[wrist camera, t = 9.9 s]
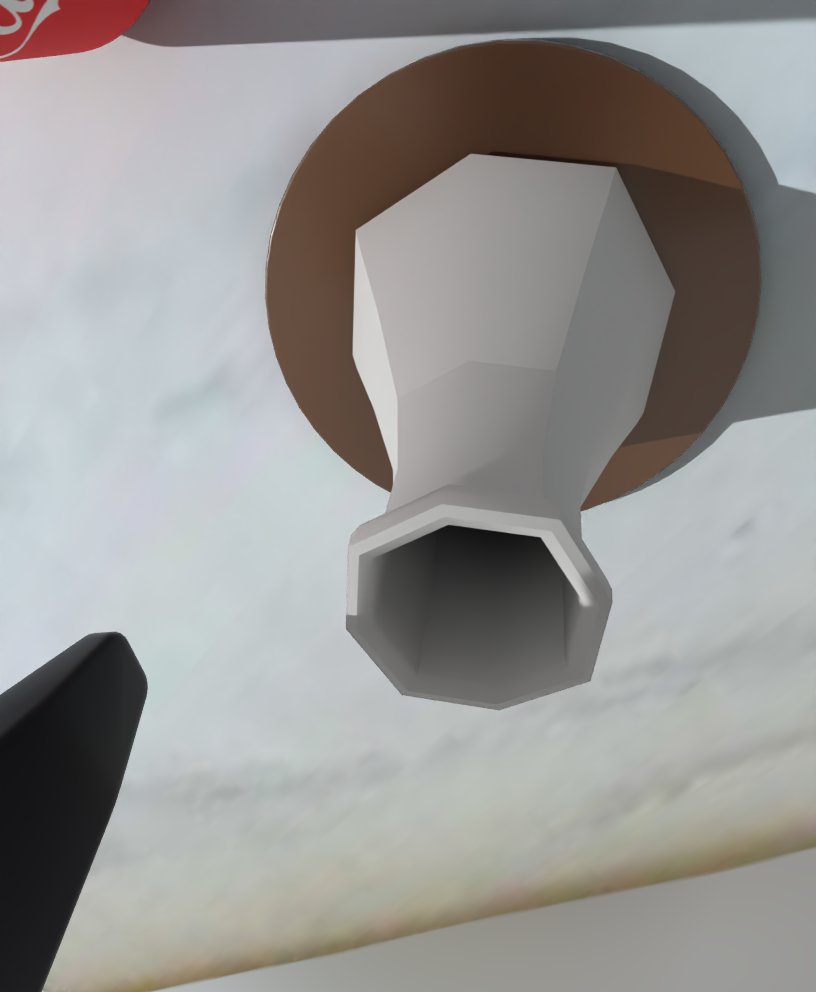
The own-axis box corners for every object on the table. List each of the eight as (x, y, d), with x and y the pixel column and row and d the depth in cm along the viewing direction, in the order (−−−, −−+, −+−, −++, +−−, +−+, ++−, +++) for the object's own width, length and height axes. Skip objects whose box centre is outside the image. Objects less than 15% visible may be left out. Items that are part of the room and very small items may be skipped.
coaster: (764, -27, 14) (771, -28, 13) (751, 490, 19) (756, 501, 19) (205, 106, 16) (196, 109, 16) (337, 529, 22) (333, 540, 21)
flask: (306, 194, 16) (66, 393, 8) (658, 103, 15) (815, 241, 6) (394, 478, 20) (290, 818, 12) (685, 435, 18) (807, 802, 10)
